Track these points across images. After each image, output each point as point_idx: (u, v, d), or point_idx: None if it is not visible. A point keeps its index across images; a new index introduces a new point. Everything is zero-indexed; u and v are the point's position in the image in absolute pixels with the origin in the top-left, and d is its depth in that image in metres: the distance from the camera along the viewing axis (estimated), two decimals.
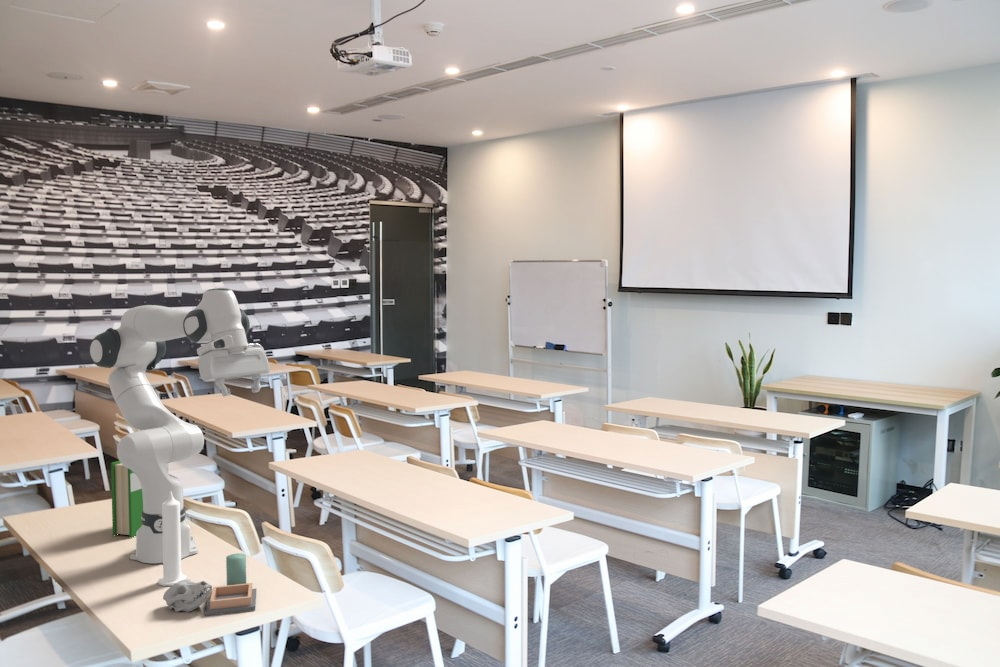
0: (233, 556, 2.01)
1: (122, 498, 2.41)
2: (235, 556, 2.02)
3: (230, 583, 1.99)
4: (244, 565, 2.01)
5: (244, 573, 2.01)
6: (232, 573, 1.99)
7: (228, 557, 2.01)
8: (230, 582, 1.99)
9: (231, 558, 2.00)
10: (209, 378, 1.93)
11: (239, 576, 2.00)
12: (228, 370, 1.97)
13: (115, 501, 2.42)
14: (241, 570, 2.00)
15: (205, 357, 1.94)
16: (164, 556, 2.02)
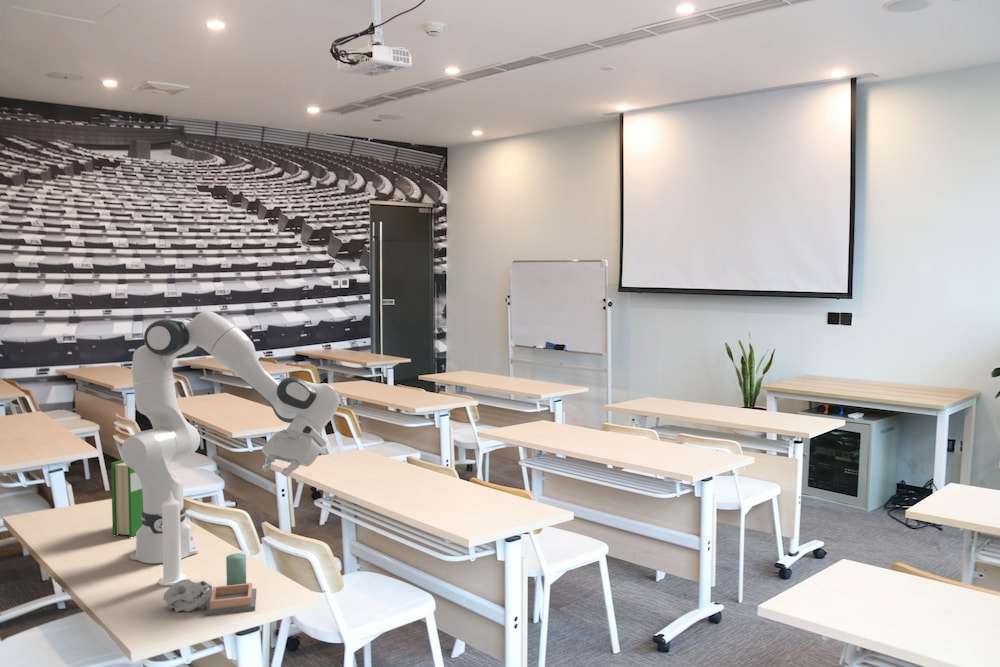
0: (232, 556, 2.01)
1: (122, 498, 2.41)
2: (235, 556, 2.02)
3: (230, 583, 1.99)
4: (244, 565, 2.01)
5: (244, 573, 2.01)
6: (232, 573, 1.99)
7: (228, 557, 2.01)
8: (230, 582, 1.99)
9: (231, 558, 2.00)
10: (307, 465, 2.07)
11: (239, 576, 2.00)
12: None
13: (115, 501, 2.42)
14: (241, 570, 2.00)
15: (318, 449, 2.10)
16: (164, 556, 2.02)
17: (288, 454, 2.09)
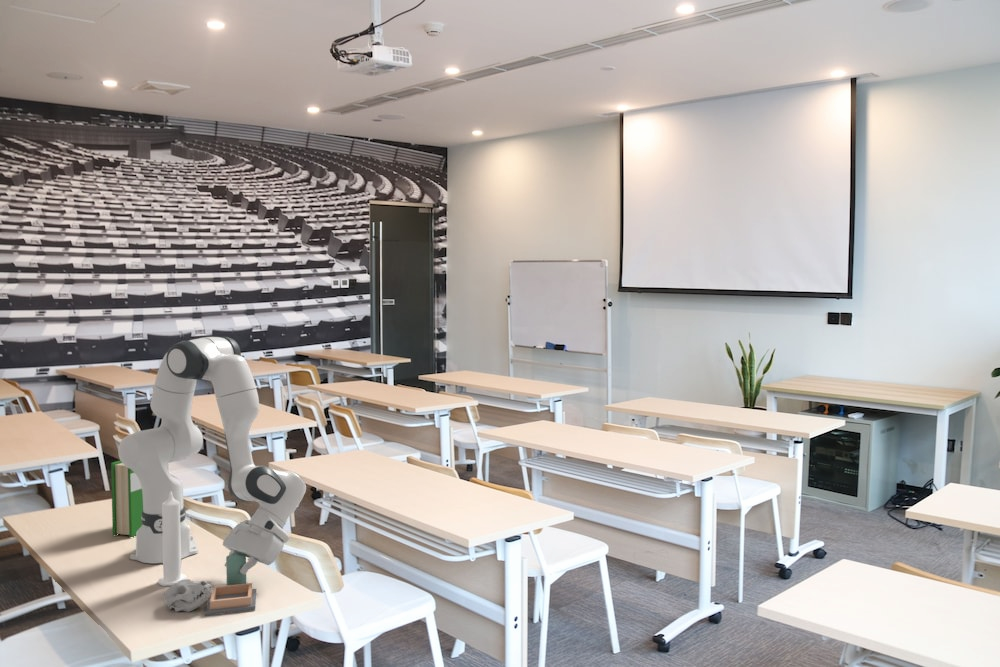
0: (233, 556, 2.01)
1: (122, 498, 2.41)
2: (235, 556, 2.02)
3: (230, 583, 1.99)
4: None
5: None
6: (232, 573, 1.99)
7: (228, 557, 2.01)
8: (230, 582, 1.99)
9: (231, 558, 2.00)
10: (268, 564, 1.98)
11: (239, 576, 2.00)
12: None
13: (115, 501, 2.42)
14: None
15: (281, 545, 2.01)
16: (164, 556, 2.02)
17: (249, 552, 2.01)
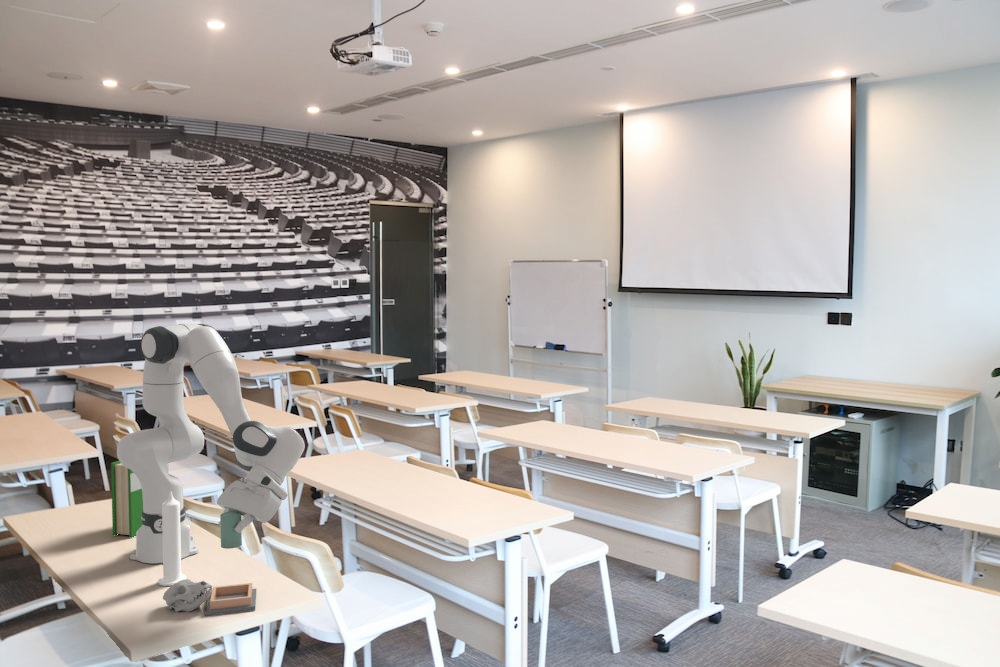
0: (227, 514, 1.89)
1: (122, 498, 2.41)
2: (230, 513, 1.89)
3: (224, 542, 1.87)
4: None
5: None
6: (227, 531, 1.87)
7: (222, 515, 1.88)
8: (224, 541, 1.87)
9: (225, 516, 1.87)
10: (265, 521, 1.86)
11: (234, 534, 1.87)
12: None
13: (115, 501, 2.42)
14: None
15: (278, 502, 1.89)
16: (164, 556, 2.02)
17: (244, 509, 1.88)
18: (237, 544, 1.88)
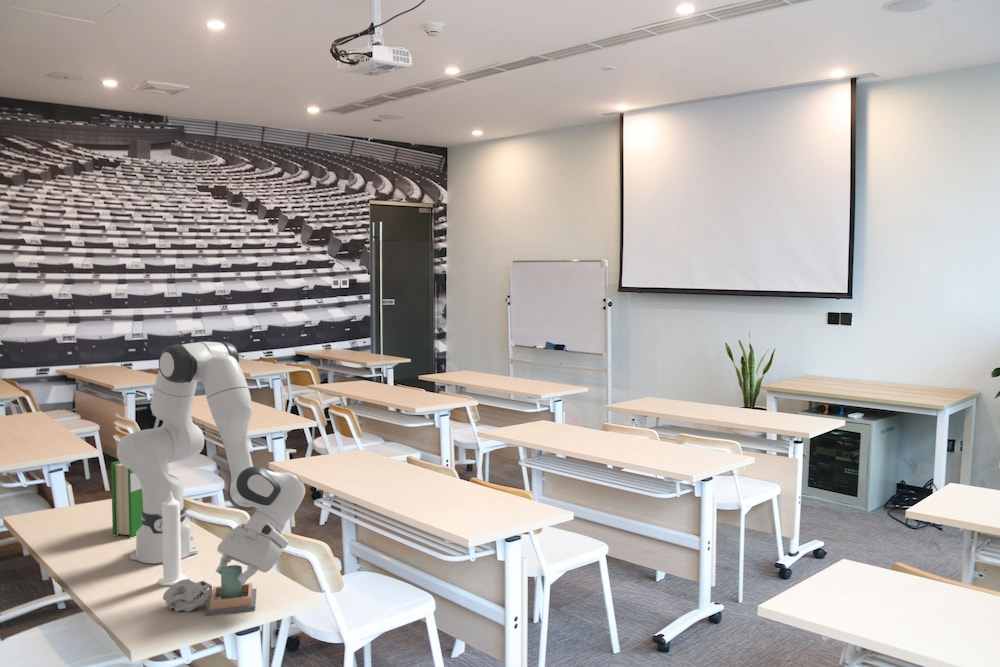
0: (228, 568, 1.90)
1: (122, 498, 2.41)
2: (230, 568, 1.90)
3: (225, 597, 1.88)
4: None
5: (240, 586, 1.89)
6: (227, 586, 1.87)
7: (223, 569, 1.89)
8: (225, 596, 1.88)
9: (226, 571, 1.88)
10: (265, 571, 1.86)
11: (235, 589, 1.88)
12: None
13: (115, 501, 2.42)
14: (237, 583, 1.88)
15: (278, 551, 1.90)
16: (164, 556, 2.02)
17: (245, 558, 1.89)
18: None
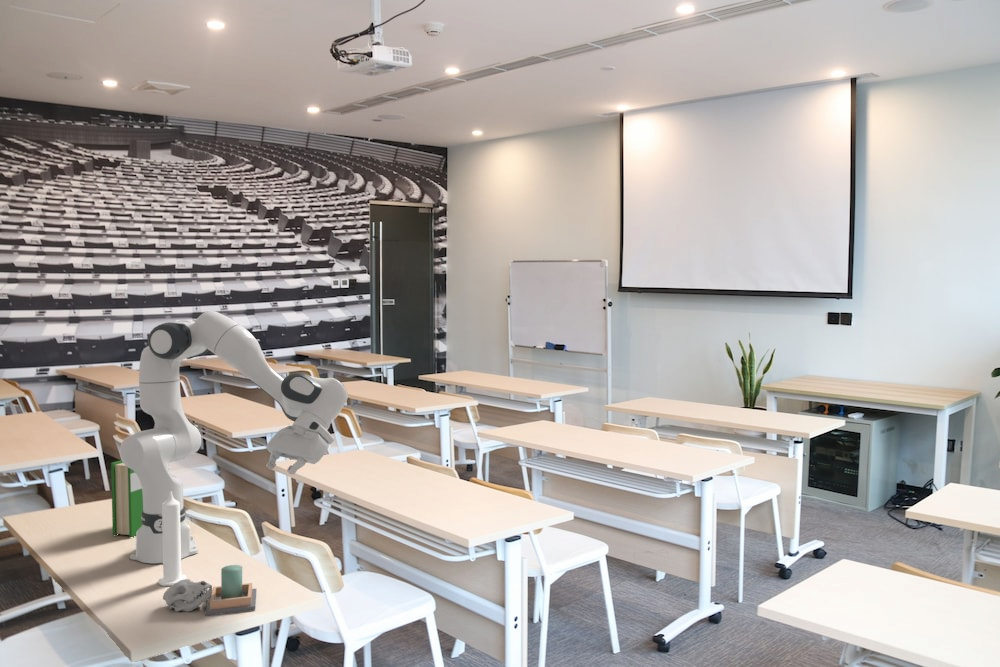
0: (228, 568, 1.90)
1: (122, 498, 2.41)
2: (231, 567, 1.90)
3: (225, 597, 1.88)
4: (240, 578, 1.89)
5: (240, 586, 1.89)
6: (227, 586, 1.87)
7: (223, 569, 1.89)
8: (225, 595, 1.88)
9: (226, 570, 1.88)
10: (314, 462, 1.98)
11: (235, 589, 1.88)
12: None
13: (115, 501, 2.42)
14: (237, 583, 1.88)
15: (326, 445, 2.01)
16: (164, 556, 2.02)
17: (294, 451, 2.01)
18: None
